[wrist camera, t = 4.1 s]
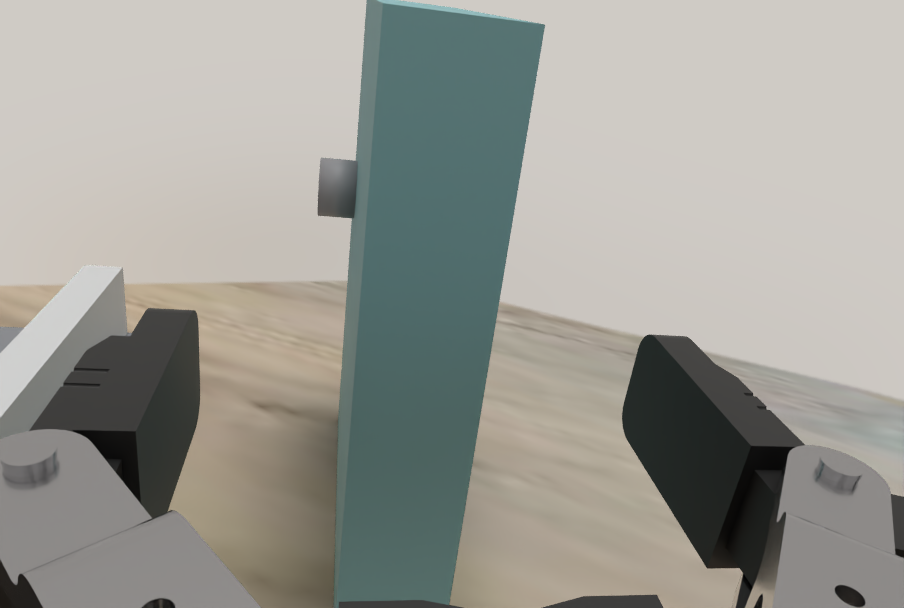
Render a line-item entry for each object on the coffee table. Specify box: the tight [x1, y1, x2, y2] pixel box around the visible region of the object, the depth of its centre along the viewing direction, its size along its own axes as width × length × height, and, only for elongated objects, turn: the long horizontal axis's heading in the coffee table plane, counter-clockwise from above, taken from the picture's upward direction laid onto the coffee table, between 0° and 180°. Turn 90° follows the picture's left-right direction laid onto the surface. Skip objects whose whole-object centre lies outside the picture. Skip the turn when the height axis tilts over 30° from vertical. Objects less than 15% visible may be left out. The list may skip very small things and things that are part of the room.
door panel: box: [318, 0, 545, 608], centre depth 18 cm, size 4×10×14 cm, turn 8°
